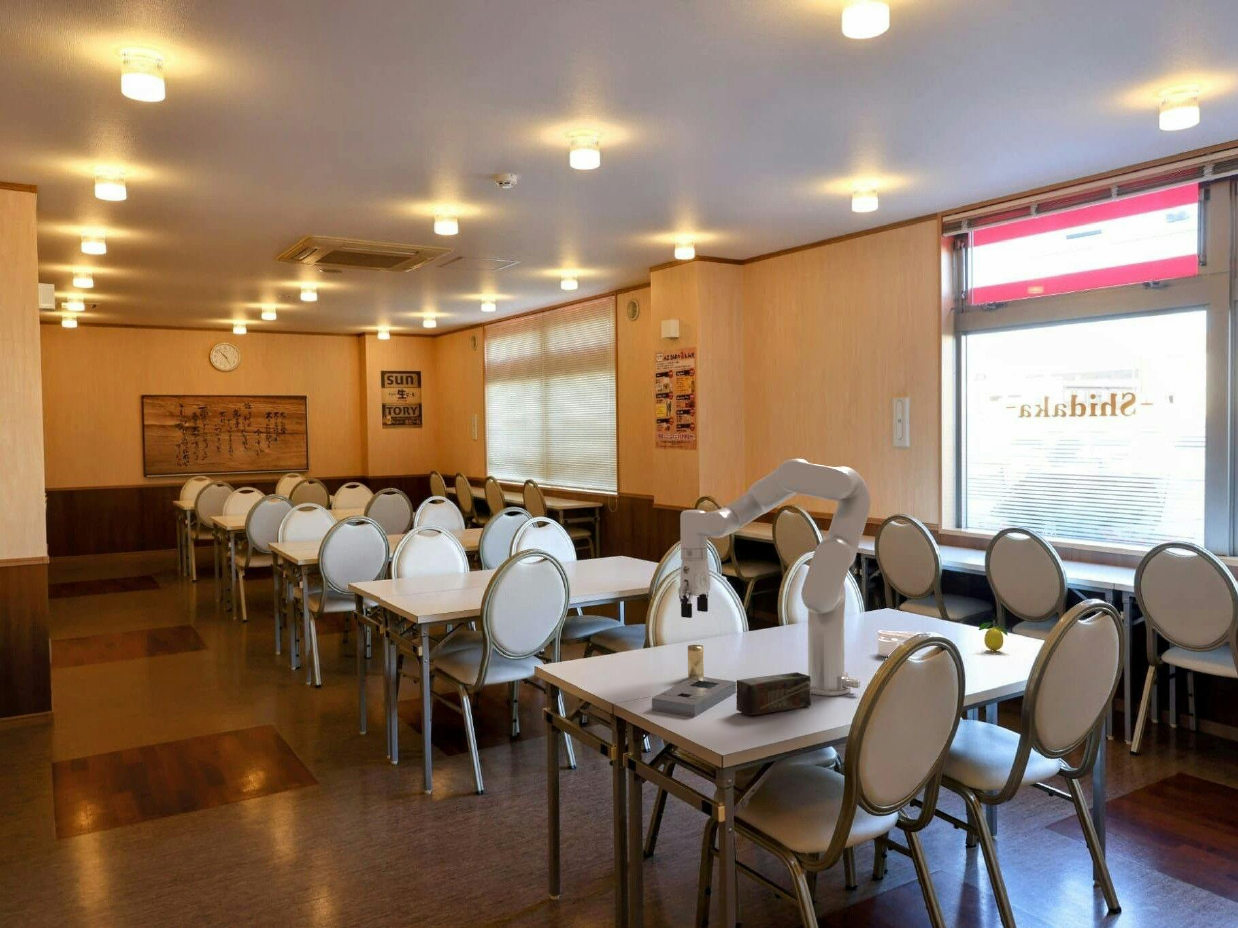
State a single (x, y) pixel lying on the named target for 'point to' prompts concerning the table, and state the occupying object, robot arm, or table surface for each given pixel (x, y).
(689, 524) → the robot arm
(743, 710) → the beverage carton
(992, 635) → the lemon
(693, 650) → the cylinder
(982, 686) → the table surface
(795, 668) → the table surface
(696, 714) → the block
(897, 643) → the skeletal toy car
